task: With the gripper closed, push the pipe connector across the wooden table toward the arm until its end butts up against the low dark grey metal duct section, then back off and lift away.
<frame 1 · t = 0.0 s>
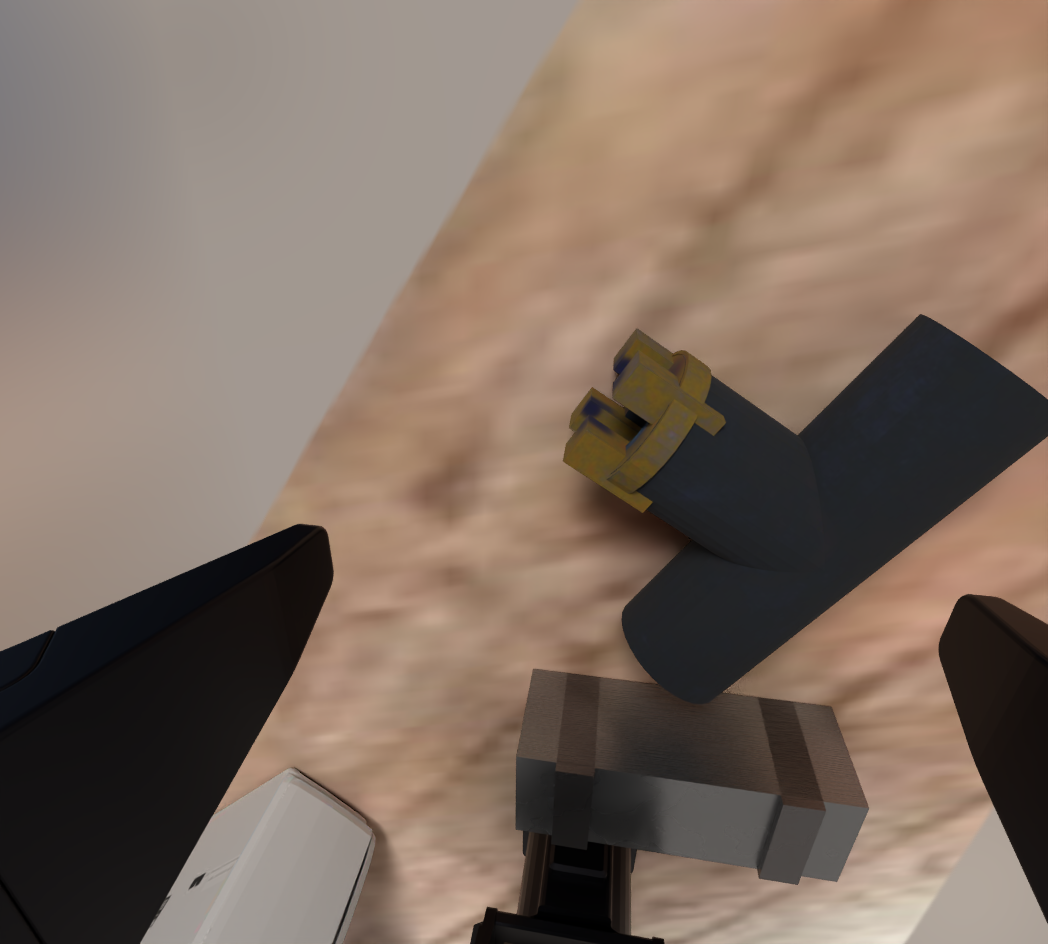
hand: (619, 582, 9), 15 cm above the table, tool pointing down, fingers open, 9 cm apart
pipe connector: (723, 448, 24), on the table
duct: (671, 723, 30), on the table
stereo radio cassette player: (254, 833, 41), on the table
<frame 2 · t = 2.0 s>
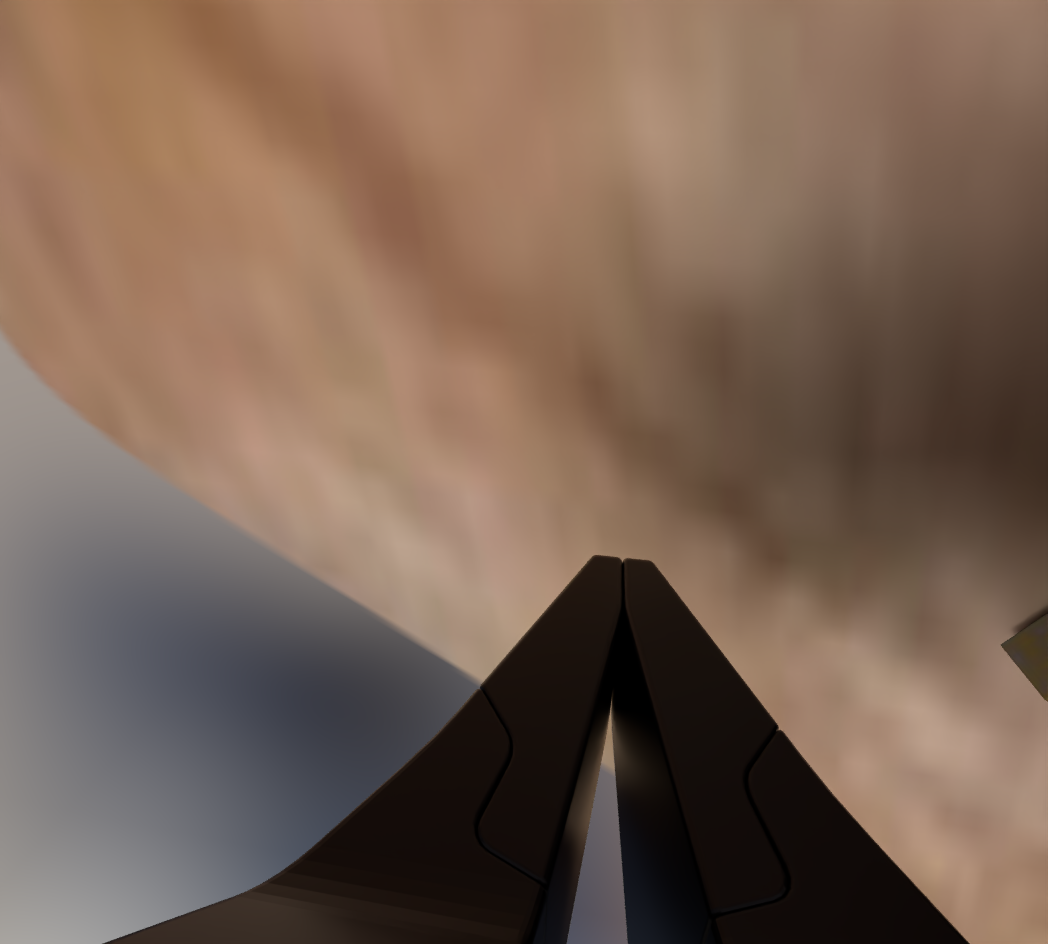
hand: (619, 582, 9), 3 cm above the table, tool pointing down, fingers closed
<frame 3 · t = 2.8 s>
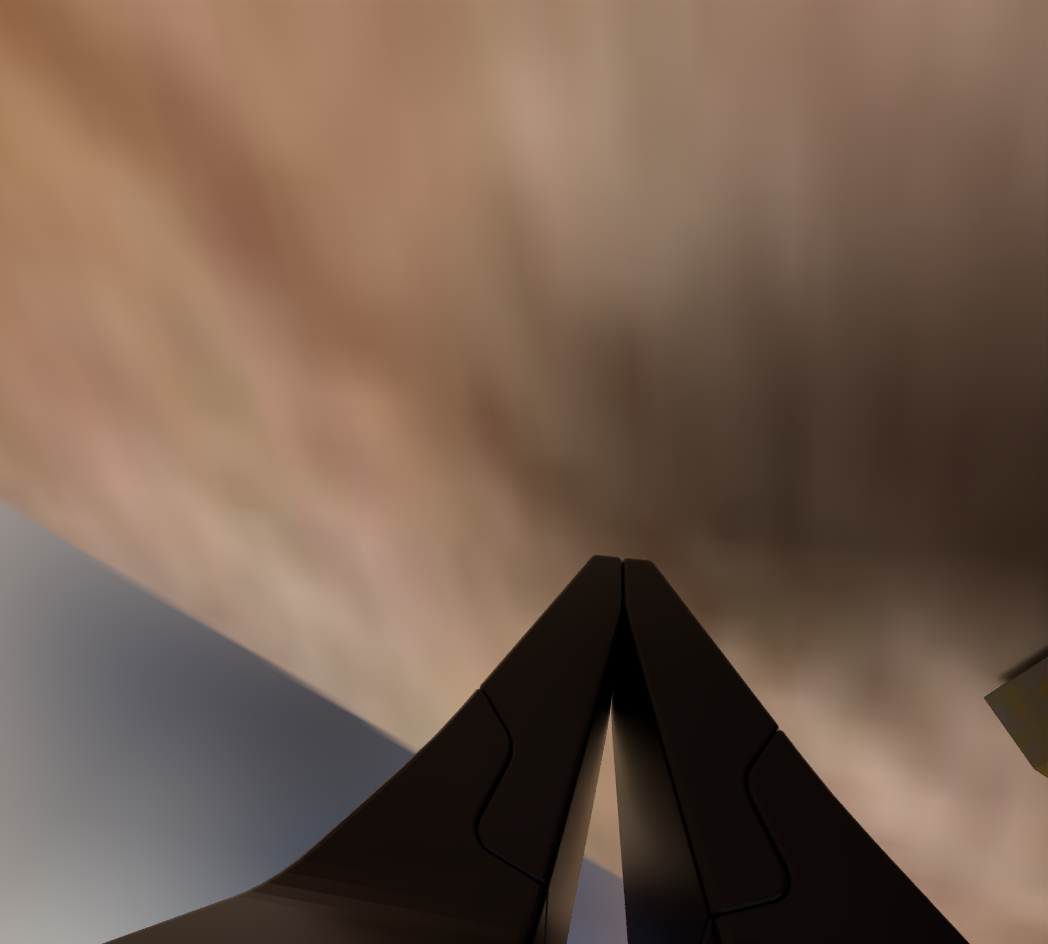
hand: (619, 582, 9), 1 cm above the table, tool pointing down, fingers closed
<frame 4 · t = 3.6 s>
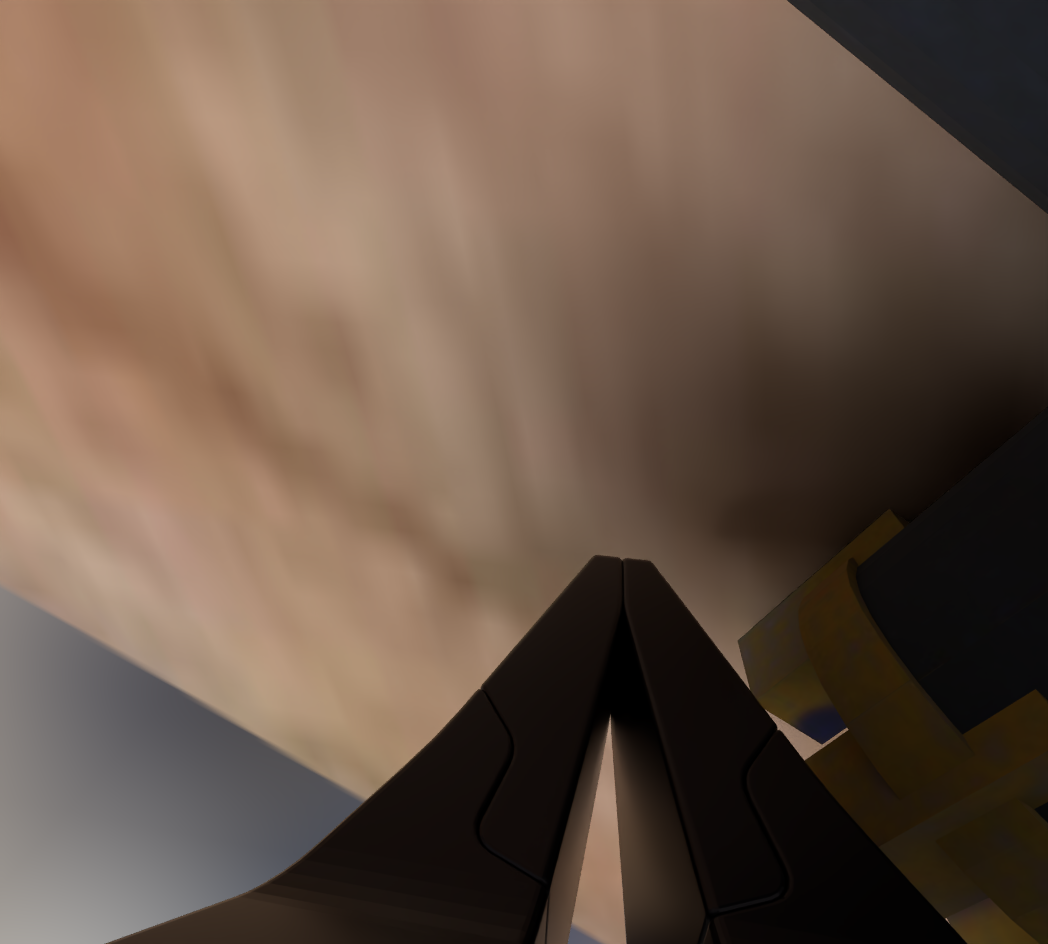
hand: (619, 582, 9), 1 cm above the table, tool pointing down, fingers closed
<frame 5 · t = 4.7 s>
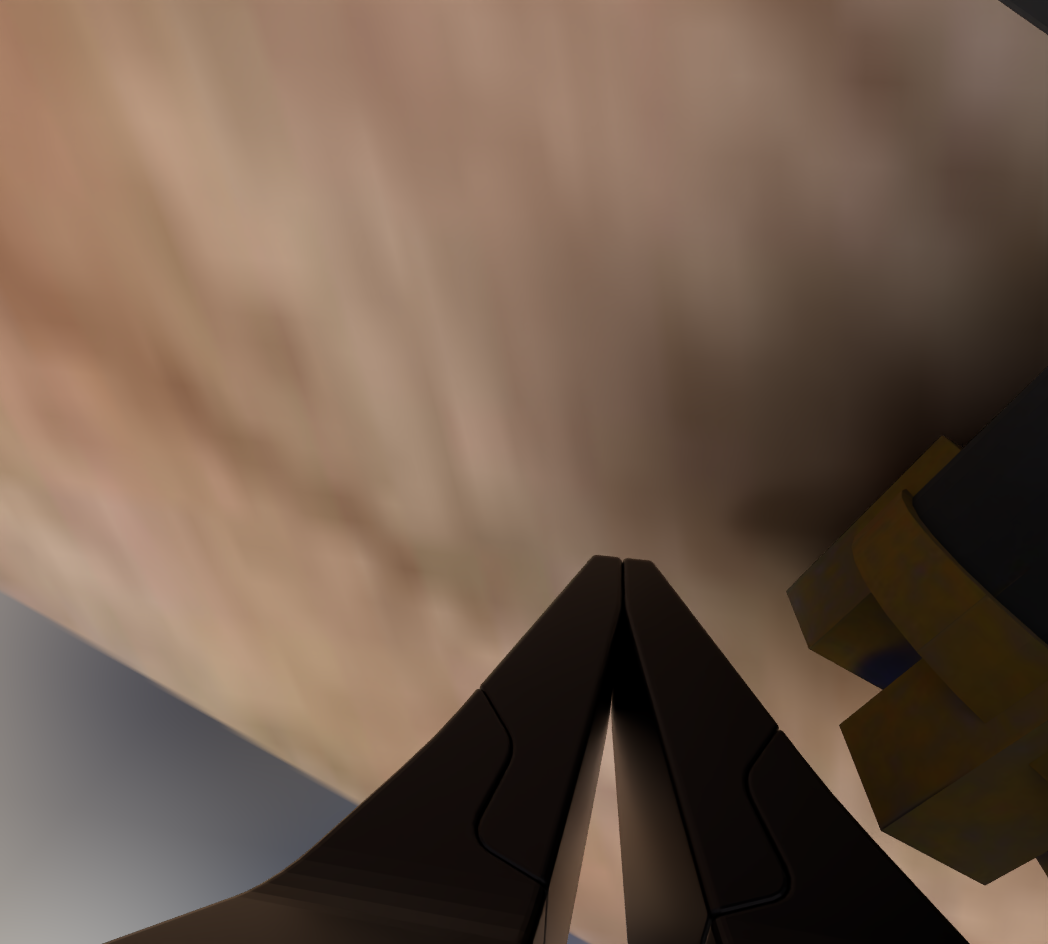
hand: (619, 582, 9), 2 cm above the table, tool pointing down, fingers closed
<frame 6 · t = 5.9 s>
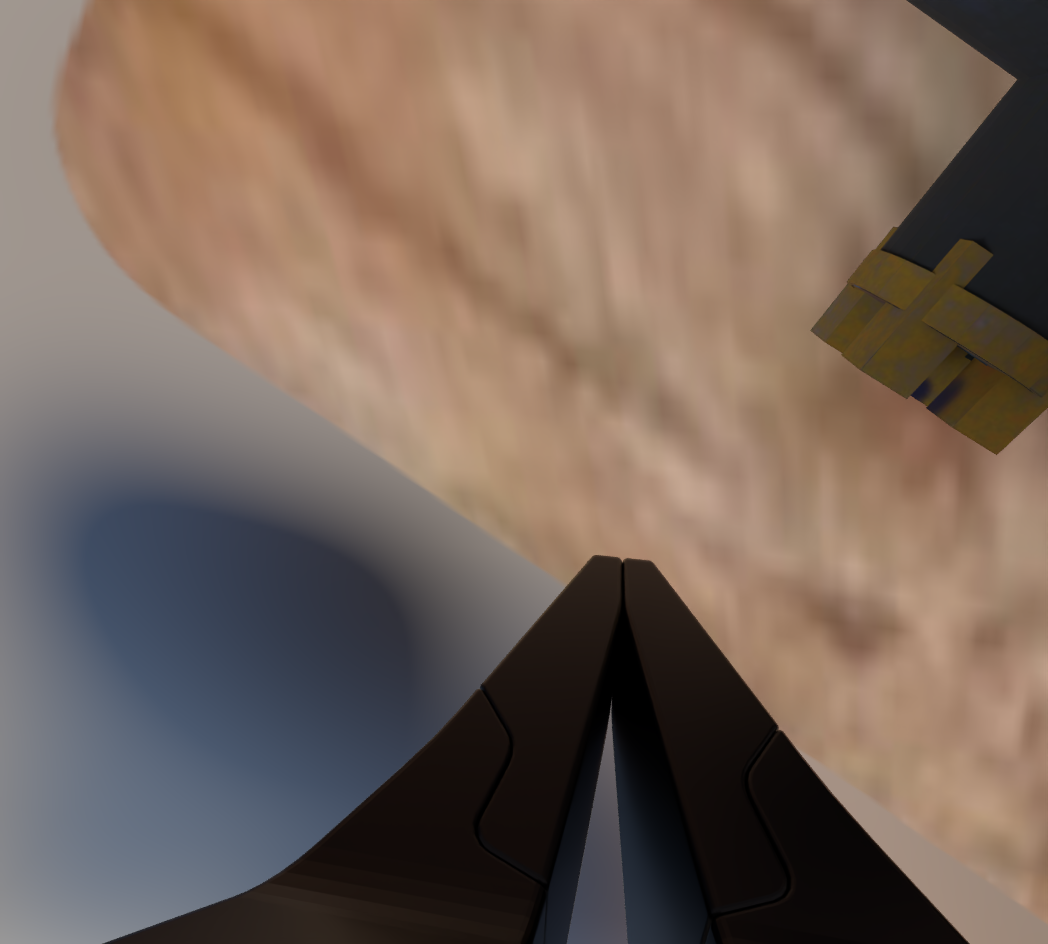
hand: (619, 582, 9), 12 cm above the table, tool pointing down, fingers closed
pipe connector: (1015, 173, 16), on the table
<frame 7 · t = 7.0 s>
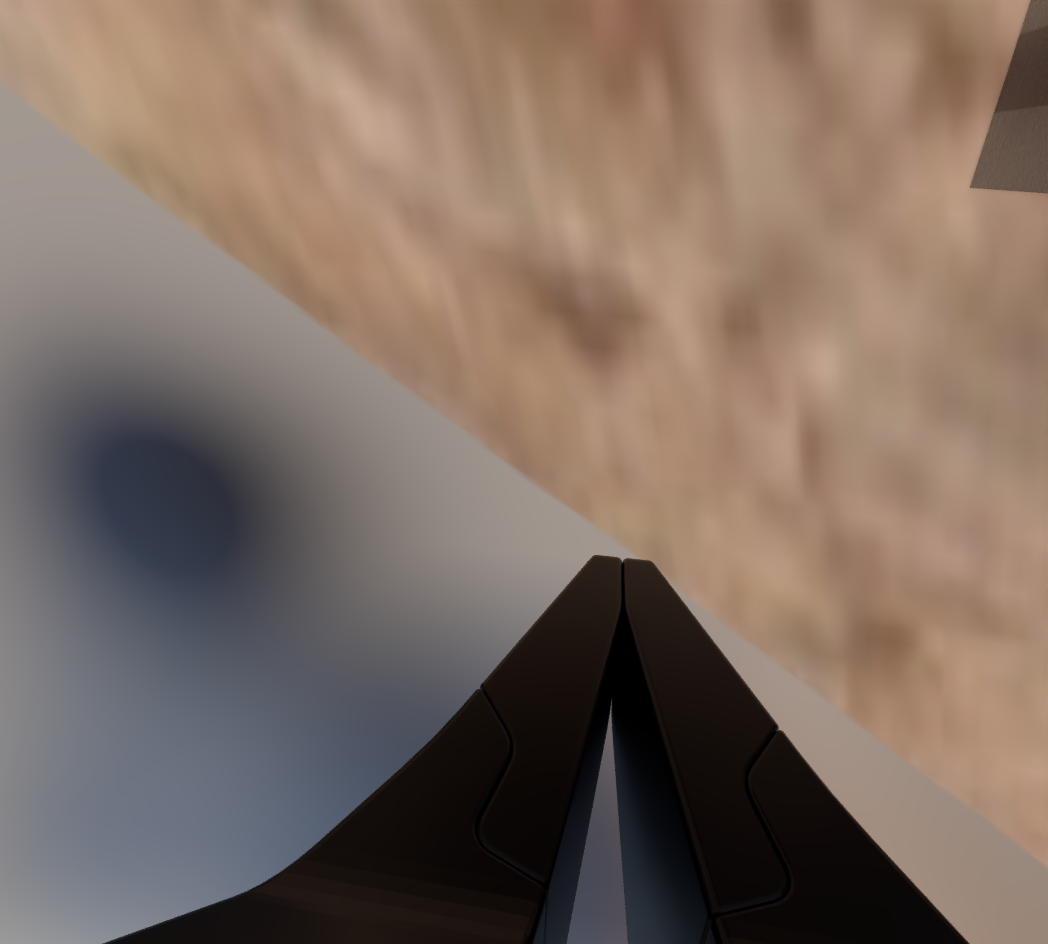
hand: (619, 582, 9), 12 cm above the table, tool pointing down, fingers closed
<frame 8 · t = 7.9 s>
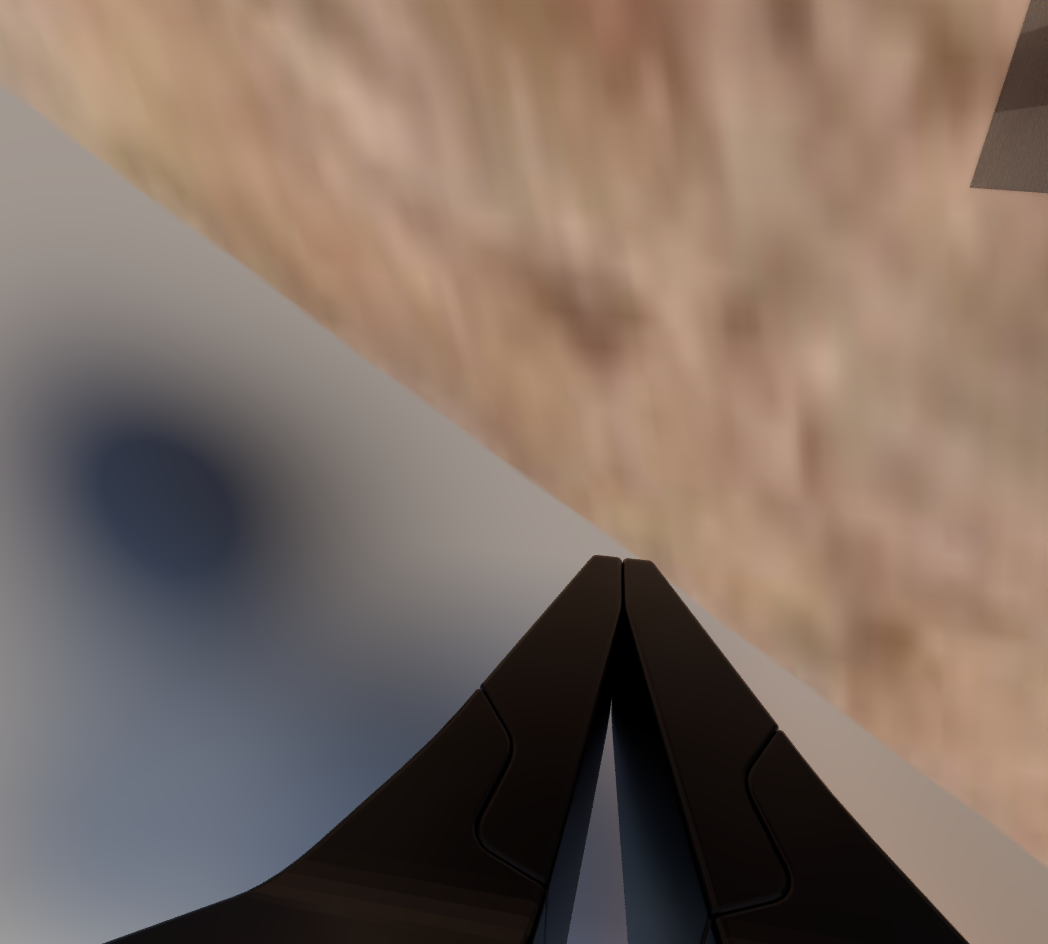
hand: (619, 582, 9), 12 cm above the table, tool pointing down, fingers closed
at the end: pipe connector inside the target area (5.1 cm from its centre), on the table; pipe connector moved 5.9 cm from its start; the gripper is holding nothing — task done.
